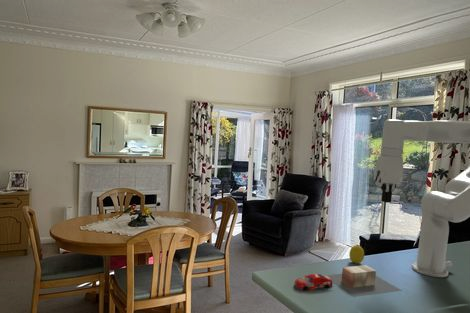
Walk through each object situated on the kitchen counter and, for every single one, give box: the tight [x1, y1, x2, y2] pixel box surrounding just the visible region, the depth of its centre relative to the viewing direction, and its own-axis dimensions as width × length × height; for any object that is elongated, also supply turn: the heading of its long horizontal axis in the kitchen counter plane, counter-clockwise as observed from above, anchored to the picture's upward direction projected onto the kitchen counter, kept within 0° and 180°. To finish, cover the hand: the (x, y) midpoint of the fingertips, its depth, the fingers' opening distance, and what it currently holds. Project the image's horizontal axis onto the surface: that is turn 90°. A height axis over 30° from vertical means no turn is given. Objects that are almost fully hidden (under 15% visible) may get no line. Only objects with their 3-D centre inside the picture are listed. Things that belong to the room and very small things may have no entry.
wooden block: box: [341, 264, 377, 288], centre depth 124 cm, size 5×5×10 cm
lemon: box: [348, 244, 365, 265], centre depth 143 cm, size 6×6×8 cm
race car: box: [294, 273, 334, 292], centre depth 120 cm, size 13×5×4 cm, turn 107°
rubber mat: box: [324, 273, 402, 298], centre depth 125 cm, size 20×16×1 cm
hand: (386, 201), depth 135 cm, fingers closed
